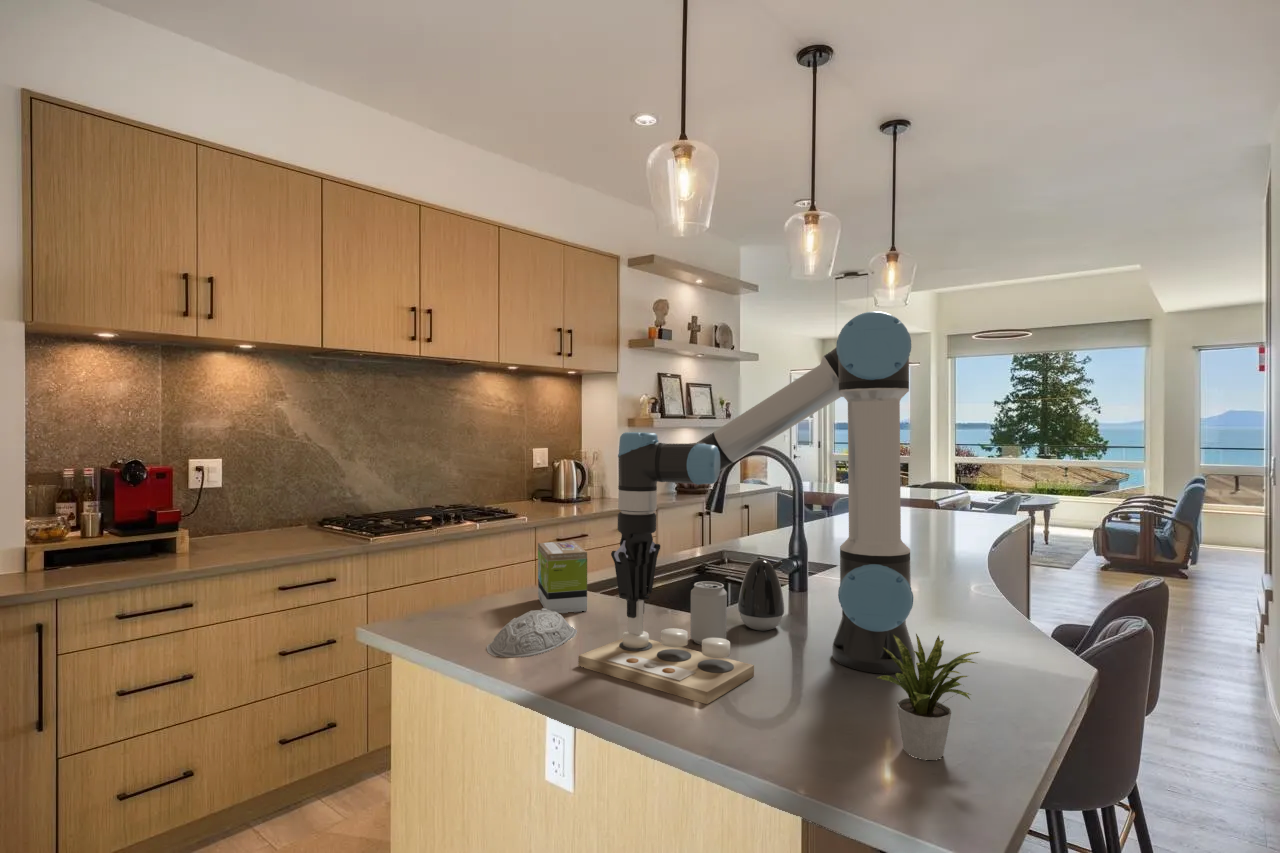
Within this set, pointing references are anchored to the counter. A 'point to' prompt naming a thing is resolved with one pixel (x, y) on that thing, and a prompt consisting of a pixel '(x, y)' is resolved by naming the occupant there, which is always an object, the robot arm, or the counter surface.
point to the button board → (669, 669)
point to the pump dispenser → (761, 596)
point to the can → (708, 611)
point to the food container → (531, 634)
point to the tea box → (562, 576)
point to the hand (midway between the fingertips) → (635, 632)
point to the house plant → (925, 699)
